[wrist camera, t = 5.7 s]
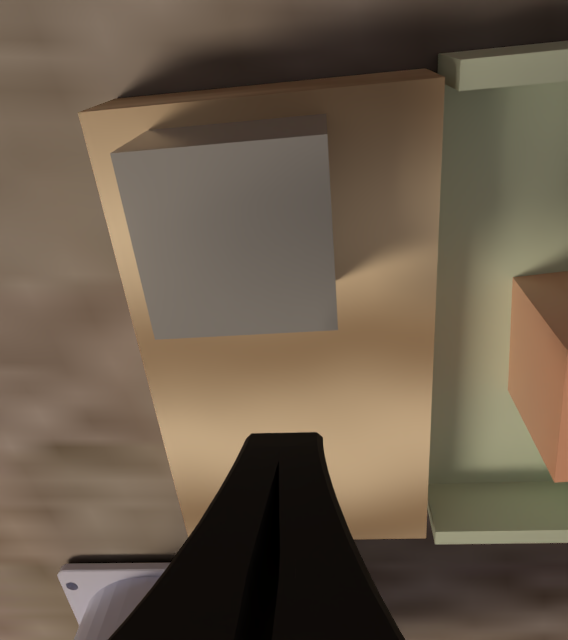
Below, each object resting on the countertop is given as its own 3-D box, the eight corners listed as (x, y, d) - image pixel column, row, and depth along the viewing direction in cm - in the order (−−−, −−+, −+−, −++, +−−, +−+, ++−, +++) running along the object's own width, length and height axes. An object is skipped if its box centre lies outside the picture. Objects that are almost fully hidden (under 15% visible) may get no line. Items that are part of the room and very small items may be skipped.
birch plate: (414, 482, 20) (426, 538, 18) (203, 487, 21) (189, 541, 19) (425, 68, 14) (445, 77, 11) (115, 98, 14) (78, 112, 12)
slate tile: (335, 281, 14) (338, 330, 12) (181, 290, 14) (154, 340, 12) (326, 113, 12) (326, 134, 10) (148, 129, 12) (109, 153, 10)
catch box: (589, 484, 20) (622, 542, 17) (422, 487, 20) (435, 544, 18) (694, 28, 13) (772, 28, 11) (437, 53, 13) (460, 59, 11)
